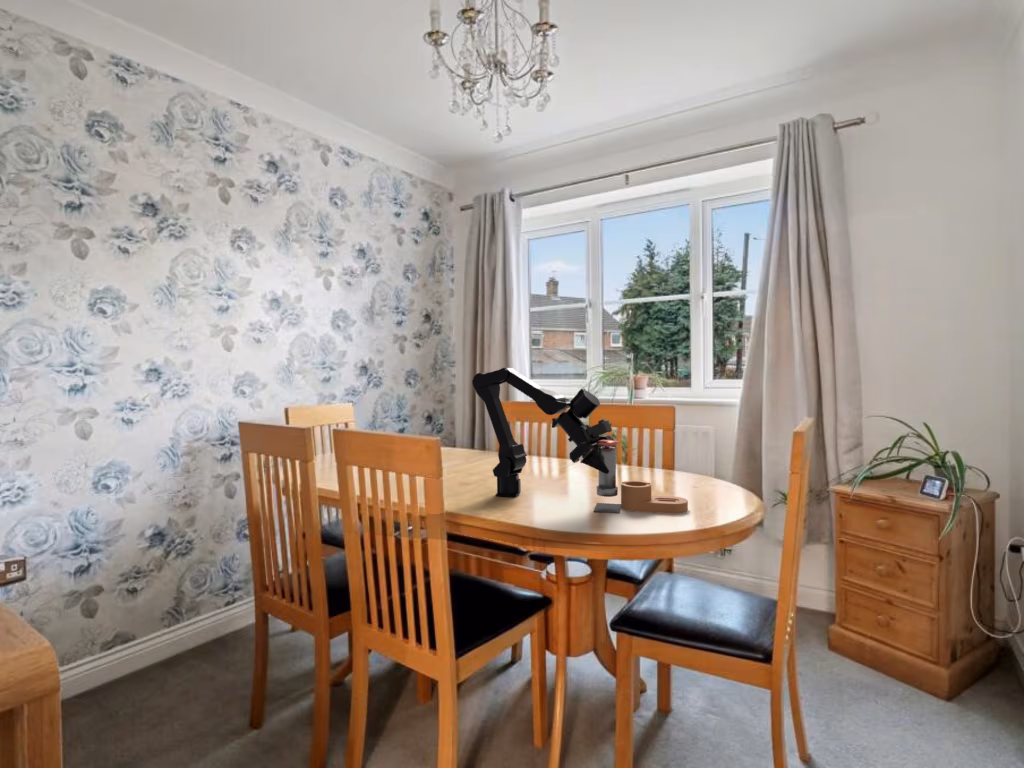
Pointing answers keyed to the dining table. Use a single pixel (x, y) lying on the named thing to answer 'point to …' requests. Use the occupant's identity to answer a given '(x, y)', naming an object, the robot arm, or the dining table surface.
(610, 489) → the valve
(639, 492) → the bracket
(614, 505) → the dark grey rectangular plate
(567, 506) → the dining table surface
